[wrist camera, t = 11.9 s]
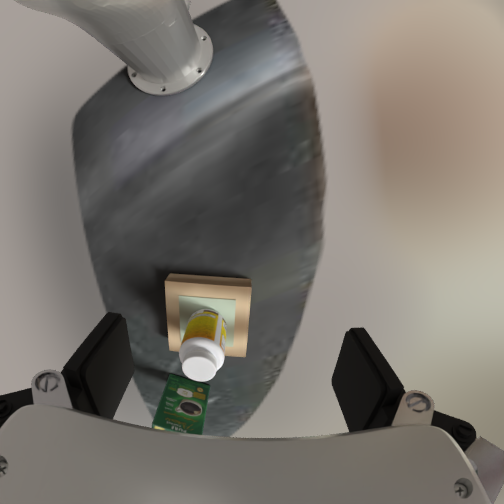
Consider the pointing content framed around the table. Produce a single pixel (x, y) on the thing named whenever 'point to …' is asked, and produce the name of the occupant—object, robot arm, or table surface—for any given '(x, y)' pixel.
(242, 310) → the base
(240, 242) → the table surface
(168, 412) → the coffee box
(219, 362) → the supplement bottle
